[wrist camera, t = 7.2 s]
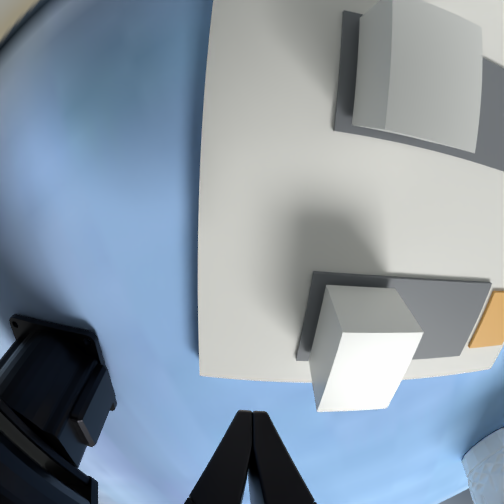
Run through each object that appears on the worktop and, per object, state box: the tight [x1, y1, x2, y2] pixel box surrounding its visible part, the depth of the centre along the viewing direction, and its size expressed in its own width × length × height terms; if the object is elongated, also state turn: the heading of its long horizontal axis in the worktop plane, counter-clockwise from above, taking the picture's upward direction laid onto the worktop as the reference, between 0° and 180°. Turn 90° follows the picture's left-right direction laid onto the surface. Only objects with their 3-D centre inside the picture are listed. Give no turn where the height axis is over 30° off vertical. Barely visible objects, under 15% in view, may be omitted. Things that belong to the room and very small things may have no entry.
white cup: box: [462, 427, 504, 504], centre depth 17 cm, size 8×8×10 cm
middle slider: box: [352, 0, 483, 153], centre depth 8 cm, size 3×4×3 cm
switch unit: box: [198, 0, 504, 383], centre depth 10 cm, size 18×28×1 cm, turn 176°
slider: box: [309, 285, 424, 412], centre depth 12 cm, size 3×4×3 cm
